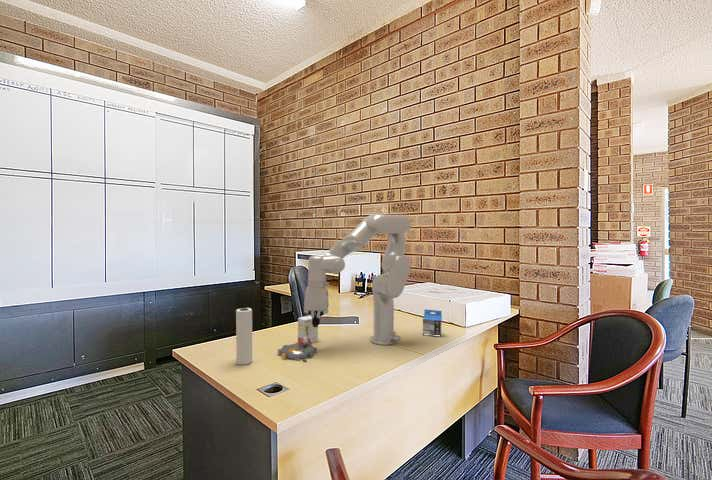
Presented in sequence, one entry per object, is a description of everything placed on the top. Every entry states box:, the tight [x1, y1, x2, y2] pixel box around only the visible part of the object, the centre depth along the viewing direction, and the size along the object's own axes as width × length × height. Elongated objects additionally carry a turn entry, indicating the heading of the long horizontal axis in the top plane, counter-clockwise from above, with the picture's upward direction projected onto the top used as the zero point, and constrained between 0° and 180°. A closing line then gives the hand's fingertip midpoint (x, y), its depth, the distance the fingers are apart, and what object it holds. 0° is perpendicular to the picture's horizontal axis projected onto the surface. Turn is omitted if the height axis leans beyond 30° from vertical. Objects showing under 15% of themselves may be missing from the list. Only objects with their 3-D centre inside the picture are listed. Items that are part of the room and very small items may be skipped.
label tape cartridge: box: [422, 309, 443, 336], centre depth 179 cm, size 9×4×12 cm, turn 68°
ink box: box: [297, 314, 319, 344], centre depth 168 cm, size 9×5×12 cm, turn 136°
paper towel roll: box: [235, 307, 253, 366], centre depth 142 cm, size 7×6×21 cm
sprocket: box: [277, 336, 318, 362], centre depth 152 cm, size 16×16×6 cm
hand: (315, 326), depth 155 cm, fingers closed
